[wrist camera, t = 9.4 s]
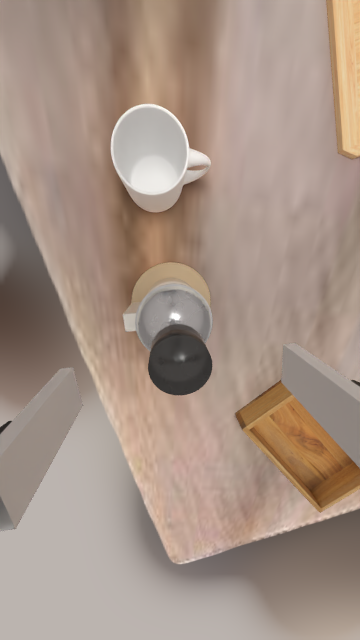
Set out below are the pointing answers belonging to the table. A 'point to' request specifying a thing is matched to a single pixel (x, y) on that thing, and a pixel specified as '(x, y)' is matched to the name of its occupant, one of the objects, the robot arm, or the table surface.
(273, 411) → the tray
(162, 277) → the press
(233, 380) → the table surface
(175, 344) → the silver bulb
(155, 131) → the mug
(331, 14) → the cutting board
